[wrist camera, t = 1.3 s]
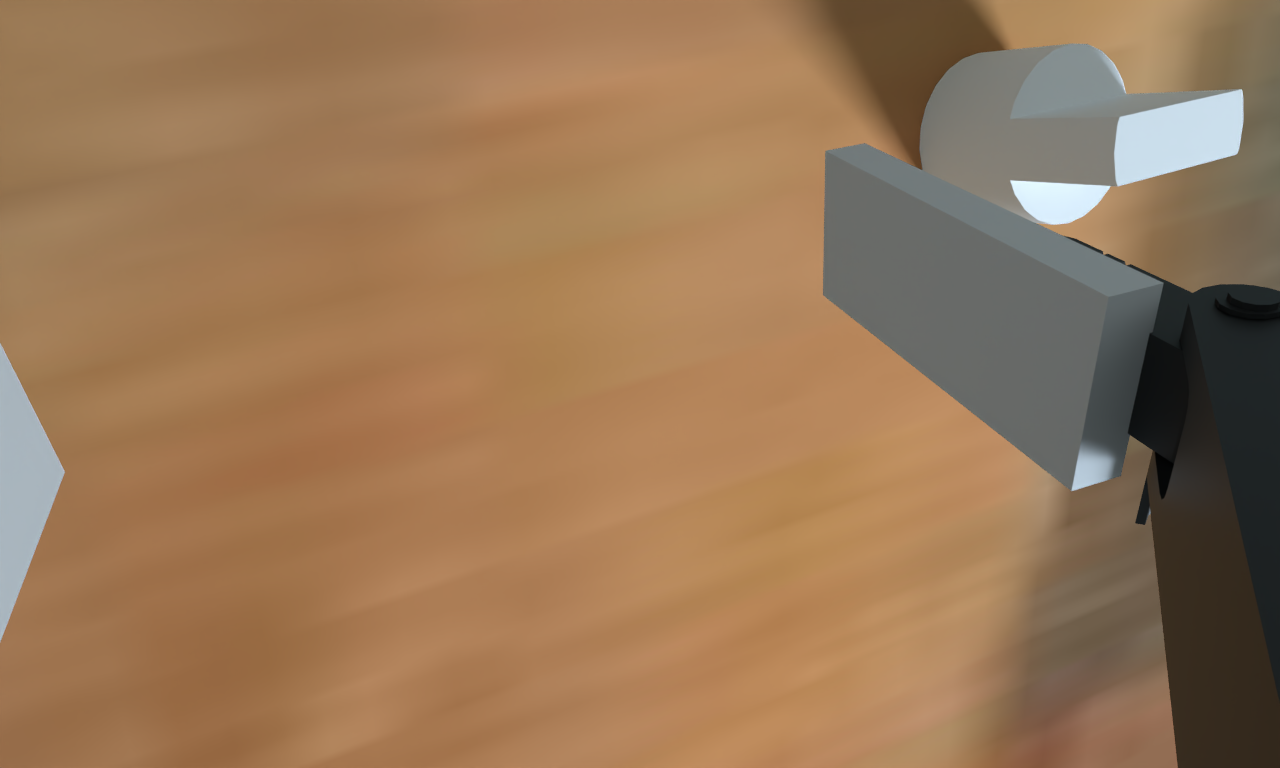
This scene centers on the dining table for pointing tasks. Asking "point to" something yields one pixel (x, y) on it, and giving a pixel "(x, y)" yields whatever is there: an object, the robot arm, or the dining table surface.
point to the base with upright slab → (1064, 130)
